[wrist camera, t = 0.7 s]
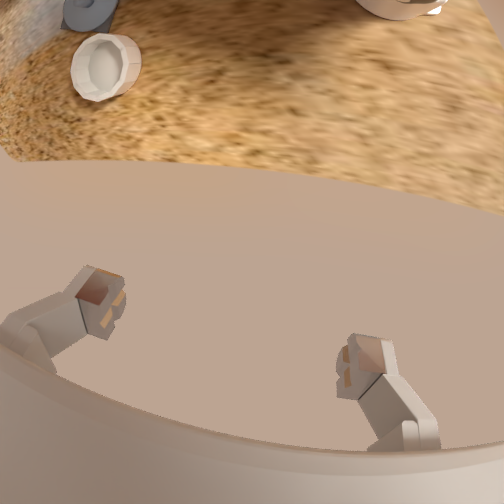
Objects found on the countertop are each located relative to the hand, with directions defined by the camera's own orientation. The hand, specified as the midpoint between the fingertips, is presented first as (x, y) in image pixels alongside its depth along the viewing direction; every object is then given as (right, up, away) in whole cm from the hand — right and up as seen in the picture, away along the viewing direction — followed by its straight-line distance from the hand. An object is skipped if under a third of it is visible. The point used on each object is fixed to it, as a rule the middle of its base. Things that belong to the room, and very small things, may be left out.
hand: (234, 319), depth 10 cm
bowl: (-24, +35, +34) cm, 54 cm away
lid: (-28, +47, +25) cm, 61 cm away
